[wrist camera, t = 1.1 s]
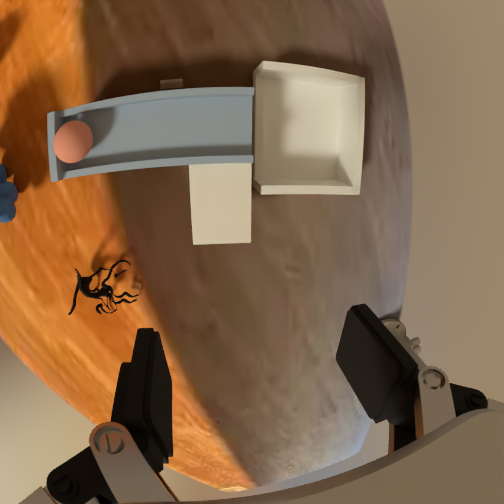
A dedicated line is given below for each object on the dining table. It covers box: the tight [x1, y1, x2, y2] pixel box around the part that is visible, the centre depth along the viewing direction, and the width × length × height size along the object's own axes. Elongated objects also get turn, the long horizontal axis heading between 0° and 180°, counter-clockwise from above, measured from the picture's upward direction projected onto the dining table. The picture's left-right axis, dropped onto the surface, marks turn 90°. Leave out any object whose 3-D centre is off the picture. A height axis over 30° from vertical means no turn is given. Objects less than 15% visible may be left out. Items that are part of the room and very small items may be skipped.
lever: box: [47, 87, 254, 245], centre depth 20 cm, size 17×13×4 cm
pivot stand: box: [160, 79, 185, 91], centre depth 22 cm, size 2×7×5 cm, turn 179°
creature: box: [68, 260, 139, 315], centre depth 27 cm, size 8×5×8 cm
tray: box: [252, 61, 365, 195], centre depth 24 cm, size 10×12×4 cm
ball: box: [53, 121, 93, 163], centre depth 17 cm, size 4×4×4 cm
